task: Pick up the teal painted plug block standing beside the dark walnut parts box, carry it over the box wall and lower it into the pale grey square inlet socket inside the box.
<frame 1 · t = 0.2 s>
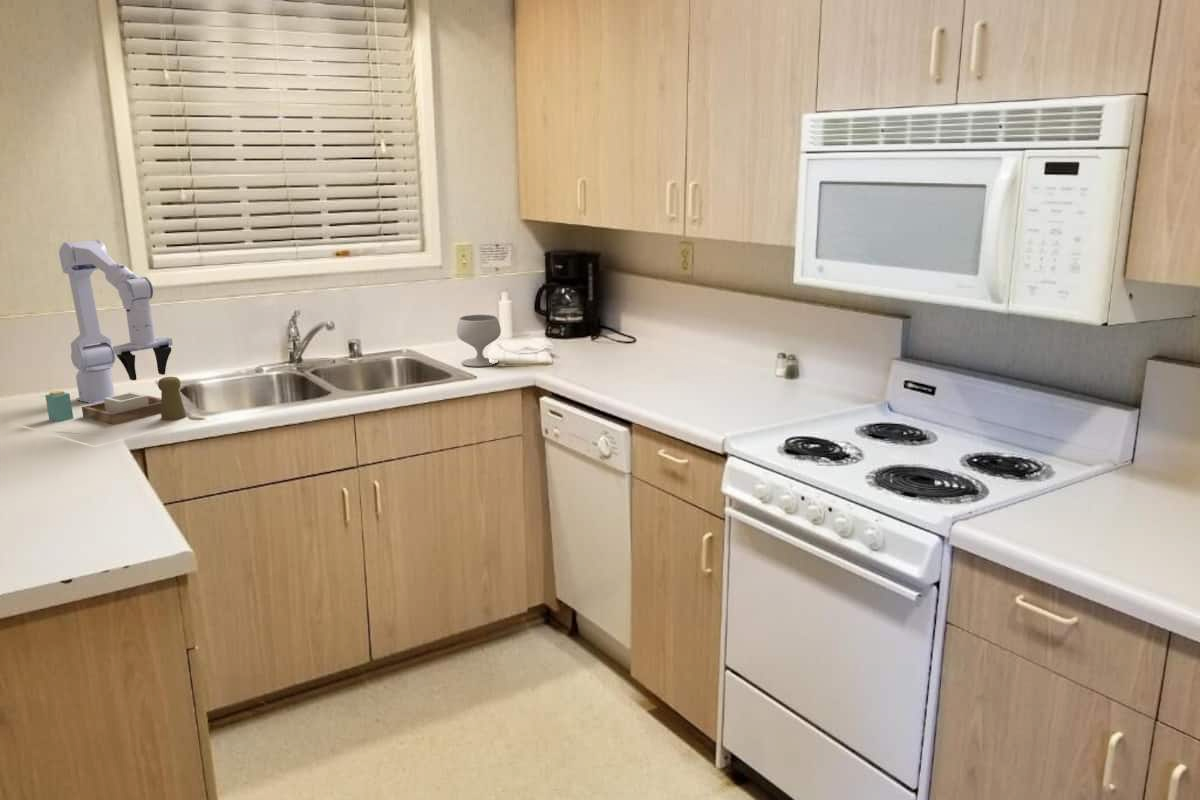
hand: (147, 376, 240), 10 cm above the counter, tool pointing down, fingers open, 7 cm apart
plug: (61, 420, 238), on the counter
chalice: (480, 364, 298), on the counter
parts box: (128, 414, 242), on the counter
inlet: (128, 413, 242), resting on parts box
olive pepper mill: (174, 419, 238), on the counter
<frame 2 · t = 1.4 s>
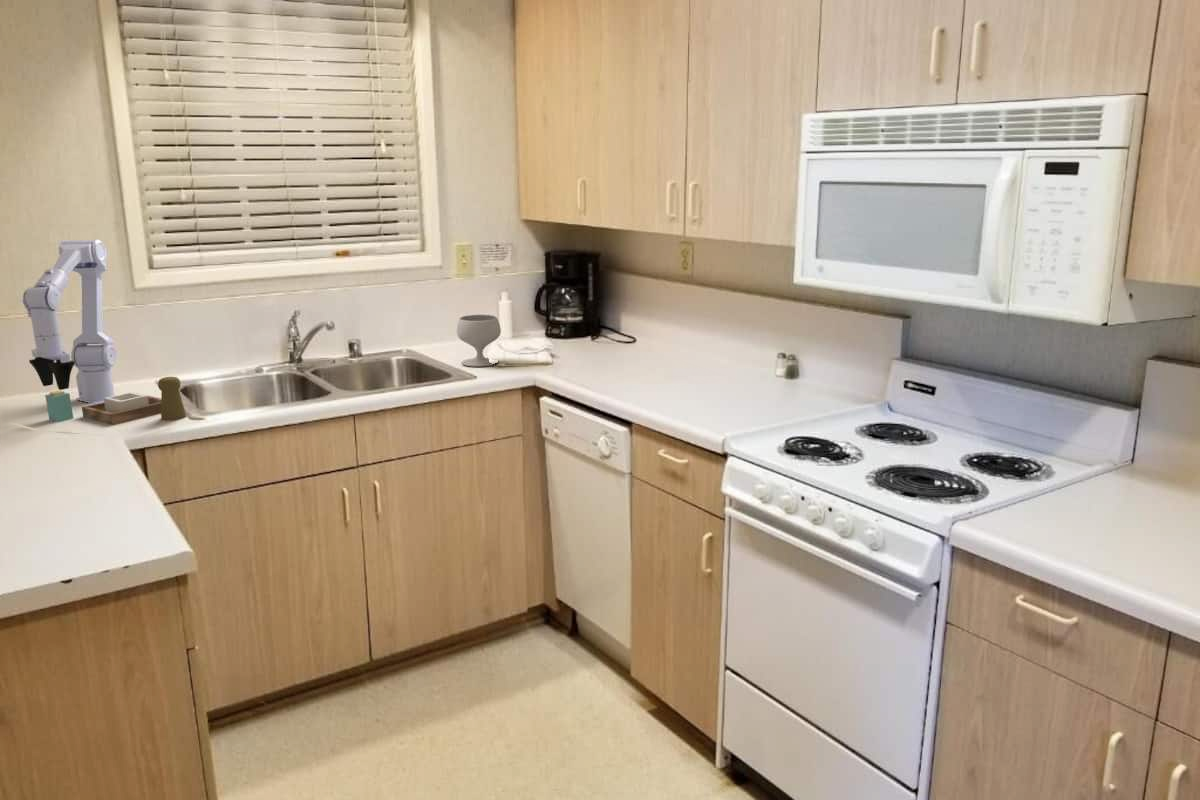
hand: (55, 387, 235), 9 cm above the counter, tool pointing down, fingers open, 7 cm apart
nothing on the counter moved.
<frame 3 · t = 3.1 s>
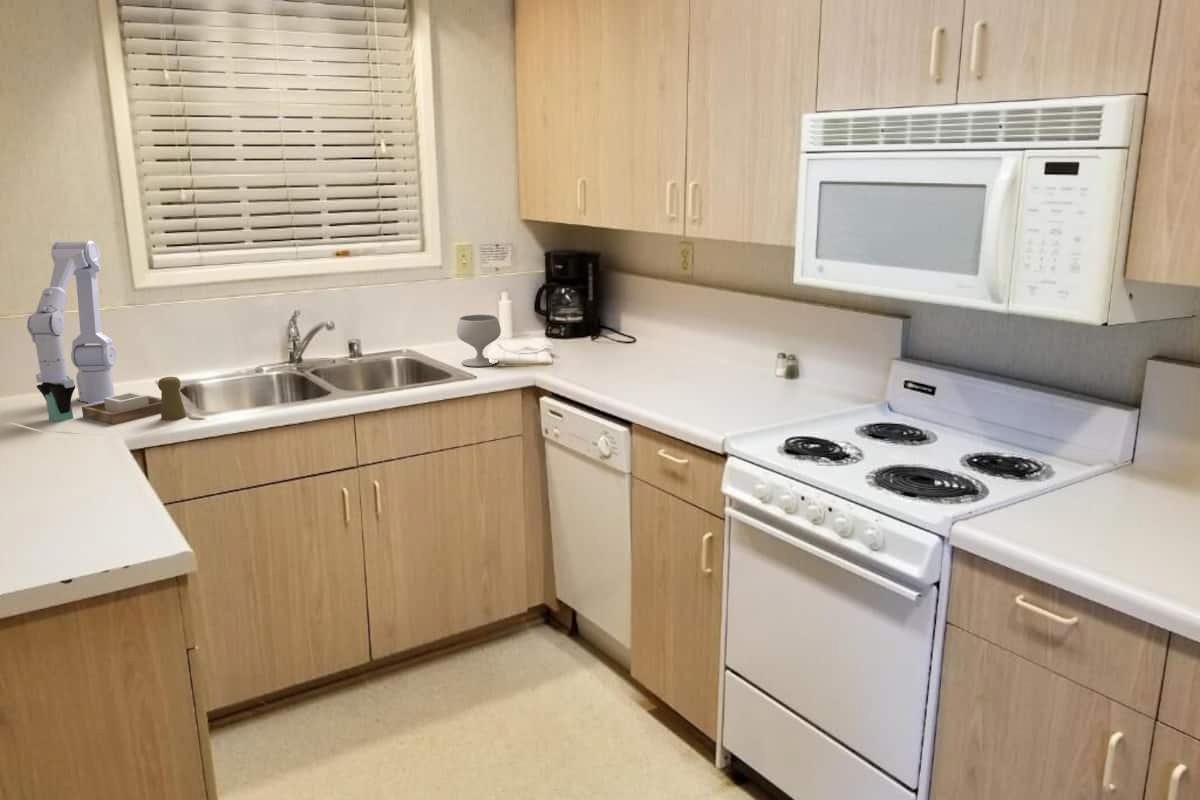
hand: (60, 411, 237), 2 cm above the counter, tool pointing down, fingers closed on plug, 4 cm apart
plug: (61, 420, 238), on the counter, touching gripper
everything else where it was.
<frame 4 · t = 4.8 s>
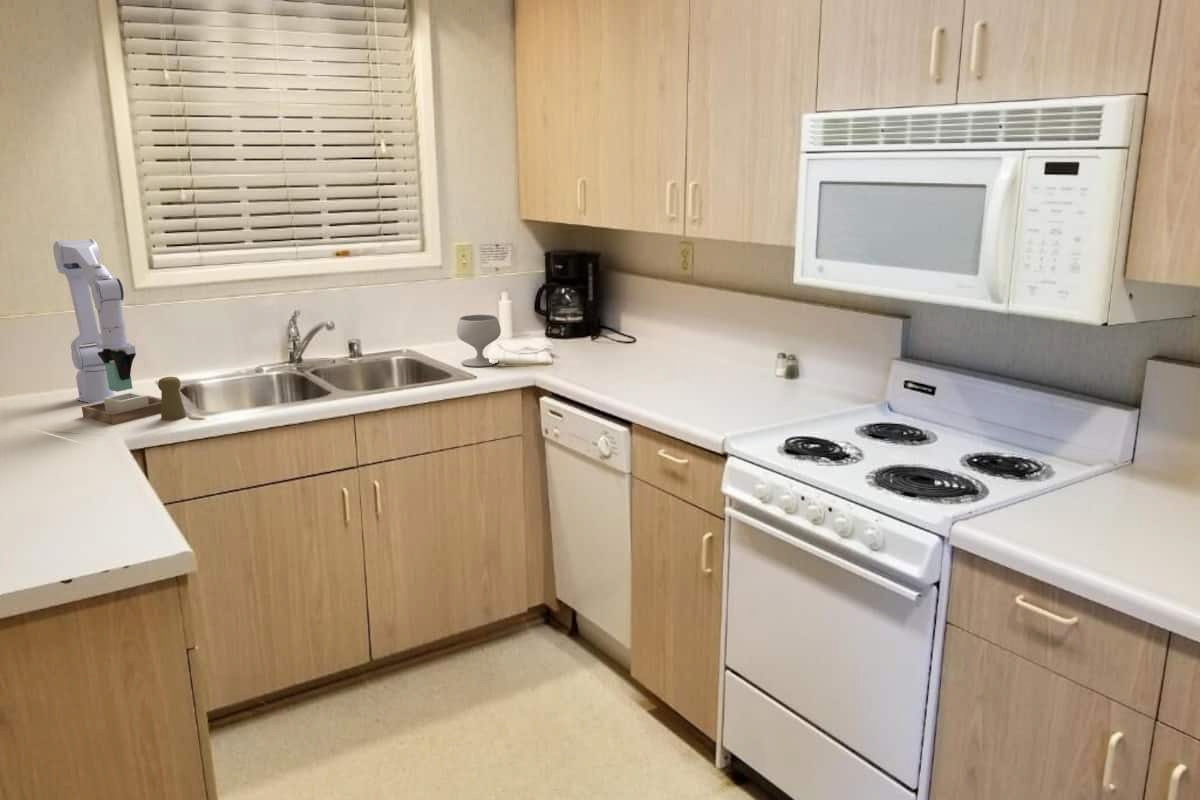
hand: (120, 378, 239), 10 cm above the counter, tool pointing down, fingers closed on plug, 4 cm apart
plug: (120, 389, 240), point 7 cm above the counter, touching gripper
everything else where it was.
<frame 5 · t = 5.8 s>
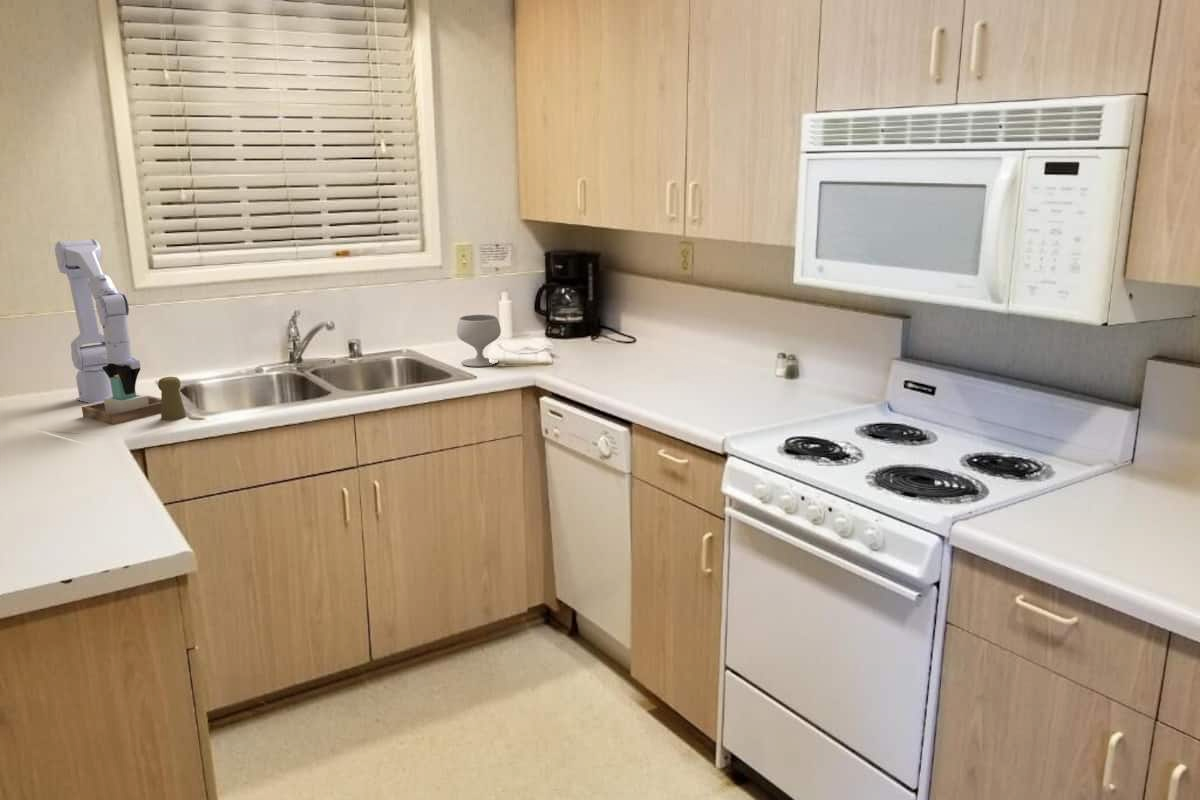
hand: (125, 392, 240), 6 cm above the counter, tool pointing down, fingers closed on plug, 4 cm apart
plug: (125, 403, 241), point 3 cm above the counter, touching gripper
everything else where it was.
when the fingers open (6 cm above the counter, at t = 6.6 s): plug drops 3 cm, resting on parts box.
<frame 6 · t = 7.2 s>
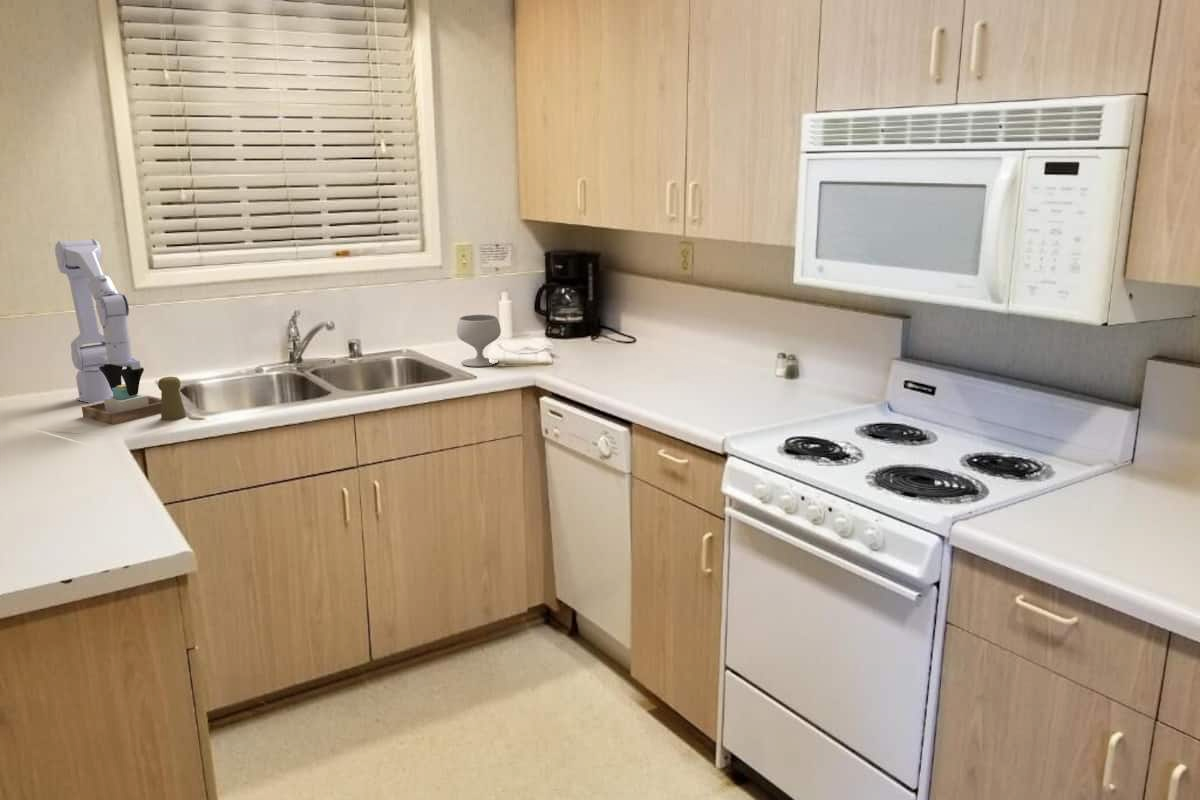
hand: (125, 393, 240), 6 cm above the counter, tool pointing down, fingers open, 7 cm apart
plug: (127, 413, 242), resting on parts box
everything else where it was.
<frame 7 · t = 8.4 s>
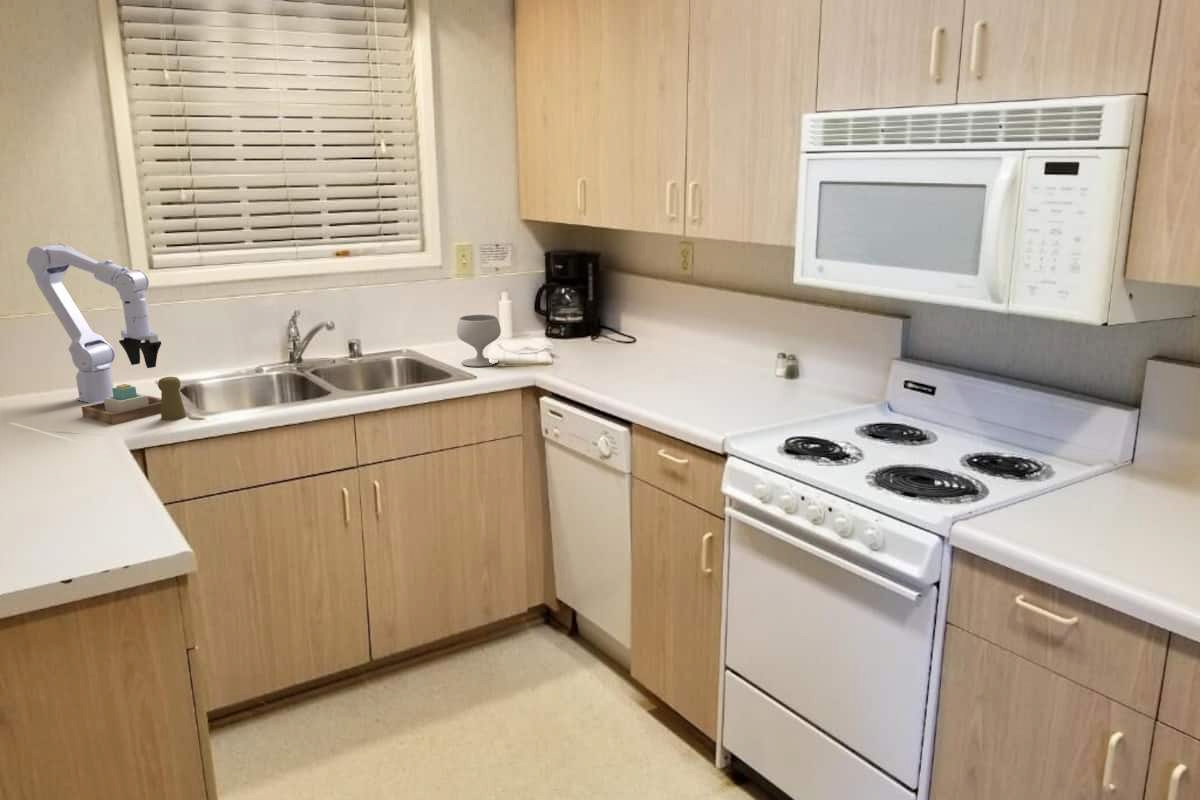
hand: (143, 365, 252), 10 cm above the counter, tool pointing down, fingers open, 7 cm apart
nothing on the counter moved.
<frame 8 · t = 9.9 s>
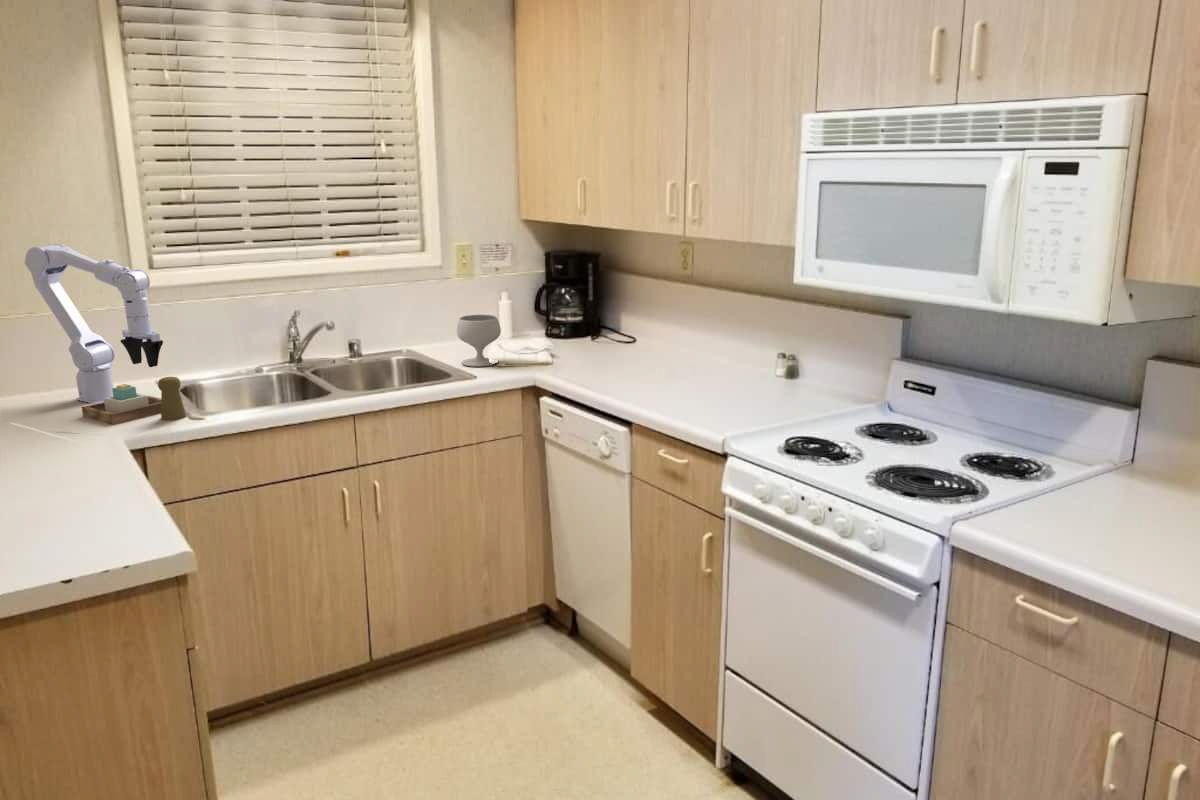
hand: (145, 364, 252), 10 cm above the counter, tool pointing down, fingers open, 7 cm apart
nothing on the counter moved.
at the end: plug 0.2 cm off-centre on the inlet, point 0.0 cm above the inlet's base; plug tilted 0°; the gripper is holding nothing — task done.
